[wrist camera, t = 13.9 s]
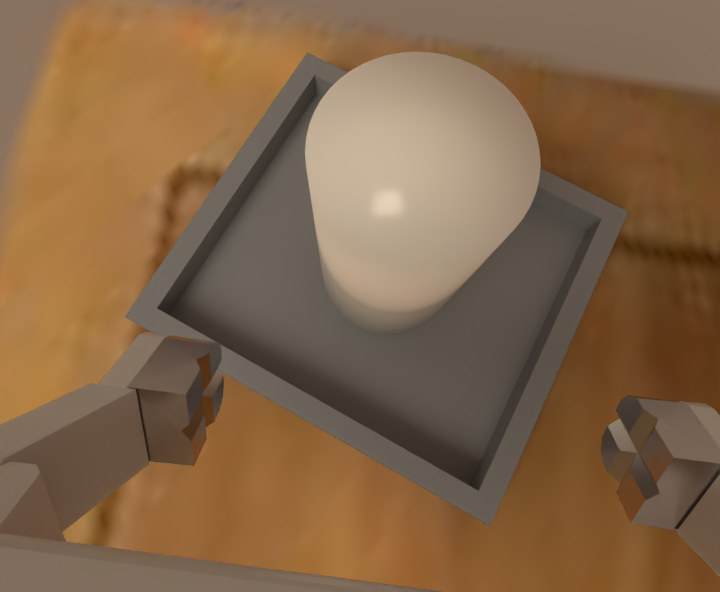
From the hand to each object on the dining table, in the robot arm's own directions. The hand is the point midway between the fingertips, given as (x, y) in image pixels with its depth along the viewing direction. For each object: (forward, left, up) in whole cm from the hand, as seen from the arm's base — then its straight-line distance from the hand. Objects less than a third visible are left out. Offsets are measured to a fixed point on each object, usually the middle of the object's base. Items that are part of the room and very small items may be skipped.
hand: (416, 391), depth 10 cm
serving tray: (+3, -6, -14) cm, 15 cm away
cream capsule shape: (+3, -6, -13) cm, 14 cm away
